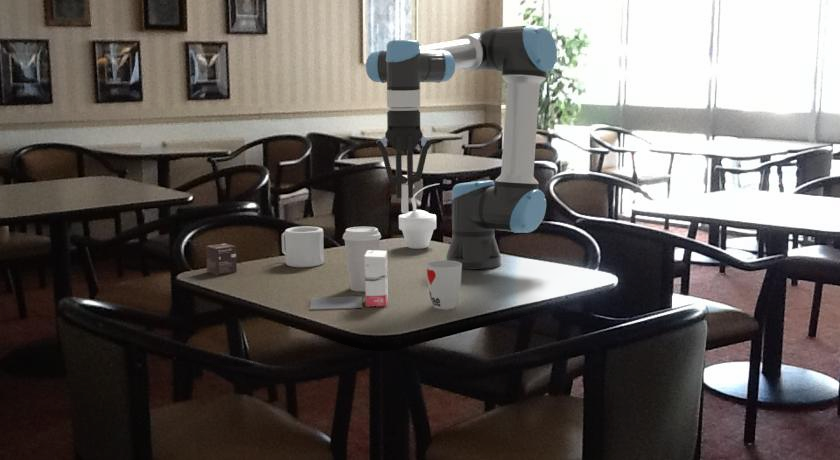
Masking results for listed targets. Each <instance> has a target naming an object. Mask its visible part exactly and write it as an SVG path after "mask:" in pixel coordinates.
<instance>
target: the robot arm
mask: <svg viewBox="0 0 840 460" xmlns="http://www.w3.org/2000/svg"><path fill="white" fill-rule="evenodd" d="M557 57H558V49H557V45H556V40H555V38H554V36H553V35H552V32H551V31H549V29H547V28H546V27H544V26H542V25H518V26H503V27H502V26H500V27H499V26H498V27H497V26H496V27H492V28H487V29H483V30H480V31H476V32H472V33H468V34H463V35H461V36H459V37H458V38H457V39H456V40H455V39H453V40H448V41H442V42H436V43H430V44H424V45H420V42H419V41H418V40H416V39H415V40H414V39H395V40H389V41H388V42H387V44H386V50H379V51H373V52H371V53H370V54H369V55H368V56H367V58H366V61H365V72H366V74H367V77H368V78H369V79H370V80H371V81H372V82H375V83H382V84H385V83H386V107H387V108H388V109H389V110H387V112H386V120H387V121H386V123H387V124H386V127H387V129H386V132H385V135H384V136H383V137H382V138H381V139H377V140H376V146H377V147H378V148H379V150H380V152H381V155H382V161H383V162H384V163H383V164H384V167H385V172H386V176H387V179H388V182H390V183H394V184H395V192H396V193H395V194H396V198H397V199H400V200H401V202H400V205H401V206H400V207H401V209H400V211H401V214H406V213H408V212H409V199H411V198H412V197H413V195H414V189H413V184H414V185H415V183H417V182H420V181H421V180H422V176H423V172H424V167H425V163H426V159H427V154H428V150H429V149H430V148H431V146H432V144H433V141H432V140H431V139H429V138H427V137H425V136H424V134H423V131H422V128H421V111H420V110H419V109H418V108H420V107H421V83H438V84H440V83H443V82H447V81H450V79H451V78H452V77H453V76H454V74H455V71H457V70H464V71H467V72H472V71H490V72H492V71H493V72H501V78H502V79H503V81H505V82H506V97H505V110H504V113H505V114H504V125H503V126H504V128H503V142H502V153H501V154H502V157H501V171H500V175H499V176H498V177H496V179H494V180H491V179H489V180H477V181H469V182H461V183H457V184H454V186H453V187H452V192H451V194H452V195H451V225H452V228H451V229H452V232H451V233H452V237H451V241H450V244H449V246H448V248H447V249H448V250H447V254H446V256H445V257H446V258H445V261H457V262H460V263H462V270H464V269H465V270H485V269H493V268H497V267H499V266H500V265H501V264H502V258H501V257H502V256H501V253H500V250H499V247H498V243H497V240H496V238H495V231H503V232H510V233H511V232H513V233H515V234H516V233H517V234H518V233H525V234H527V233H532V232H534V231H535V230H537V229H538V227H540V224H541V223H542V222H543V220H544V217H545V215H546V211H547V210H546V209H547V199H546V195H545V193H544V192H543V191H542V190H540V189H539V184H540V183H539V181H538V180H537V179H536V178H535V174H534V171H535V159H536V158H535V157H536V143H537V131H538V130H537V127H538V116H539V115H538V114H539V100H540V87H541V84H543V83H544V82H545V81H546V80H547V72H550V71H551V70H552V69H554V68H555V64H556V63H557ZM420 141H421V142H420ZM388 142H389V144H390V145H391V146H392V148H393V149H394V150H395V176H394V174H393V171H392V166H391V163H390V159H389V155H388V151H387V148H386V147H387V146H388ZM419 142H420V145H421V150H420V154H419V158H418V162H417V167H416V170H415V171H416V172H415V174H414V149H415V148H416V147H417V145H418V144H419ZM402 151H406V175H407V178H406V183H407V184H405V183H403V182H402V180H403V179H402V178H403V176H402V175H403V174H402V171H403V170H402V167H403V165H402V160H403V159H402V155H403V154H402V153H403V152H402Z"/></svg>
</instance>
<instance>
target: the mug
mask: <svg viewBox="0 0 840 460" xmlns="http://www.w3.org/2000/svg"><path fill="white" fill-rule="evenodd" d="M324 251H325V250H324V229H323V228H322V227H319V226H308V225H307V226H305V225H304V226H303V225H302V226H292V227H289V228H286V229H285V231H284V232H283V233H281V252H282V254H284V255H285V264H286V265H287V266H288V267H293V268H314V267H318V266H321V265H323V264H324V262H325V253H324Z"/></svg>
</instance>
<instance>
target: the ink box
mask: <svg viewBox="0 0 840 460" xmlns="http://www.w3.org/2000/svg"><path fill="white" fill-rule="evenodd" d="M388 264H389V263H388V250H380V249H379V250H367V252H366V254H365V291H364V294H365V306H366V307H367V308H368V307H369V308H370V307H371V306H372V307H374V306H376V307H387V303H388V299H389V279H388V277H389V275H388V273H389V271H388V269H389V267H388V266H389V265H388Z"/></svg>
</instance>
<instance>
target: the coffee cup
mask: <svg viewBox="0 0 840 460" xmlns="http://www.w3.org/2000/svg"><path fill="white" fill-rule="evenodd" d="M381 238H382V235H381V232H379V229H378V228H377V227H375V226H353V227H348V228H346V229H345V232H344V233H343V235H342V240H344V245H345V247H344V248H345V253H346V264H347V271H348V280H349V282H348V283H349V289H350V290H351V291H353V292H365V254H366V252H367V250H379V251H380V239H381Z"/></svg>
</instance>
